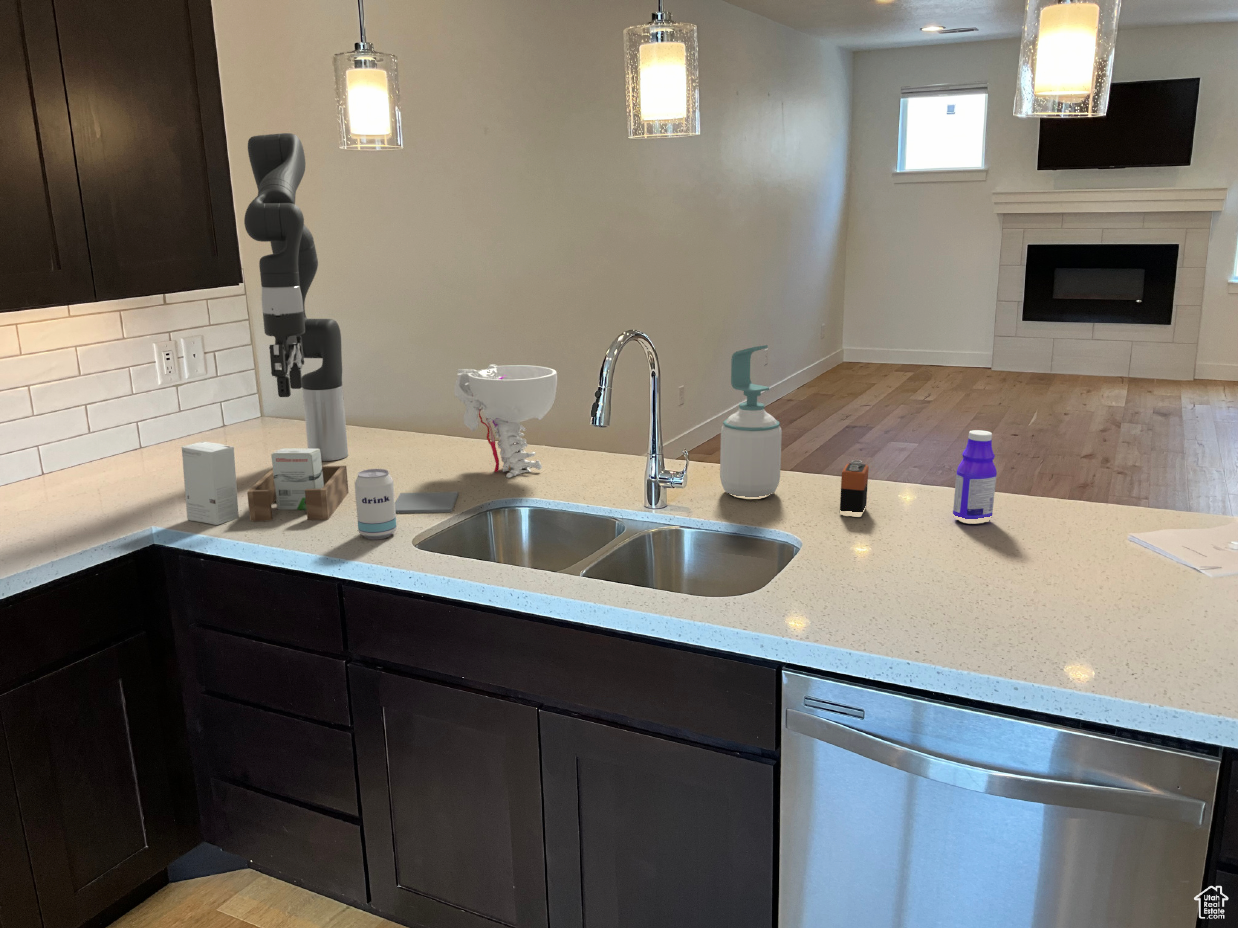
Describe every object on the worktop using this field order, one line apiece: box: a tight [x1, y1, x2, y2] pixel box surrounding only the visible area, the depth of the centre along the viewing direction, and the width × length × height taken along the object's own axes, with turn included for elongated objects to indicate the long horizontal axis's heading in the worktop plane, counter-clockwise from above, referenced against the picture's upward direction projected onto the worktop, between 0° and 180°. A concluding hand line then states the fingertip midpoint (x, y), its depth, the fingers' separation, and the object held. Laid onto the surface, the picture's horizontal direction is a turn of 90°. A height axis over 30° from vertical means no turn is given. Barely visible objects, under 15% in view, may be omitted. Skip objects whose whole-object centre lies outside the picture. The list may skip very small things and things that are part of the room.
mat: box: [395, 491, 459, 514], centre depth 204 cm, size 12×12×1 cm
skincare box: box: [181, 441, 239, 526], centre depth 194 cm, size 8×6×15 cm
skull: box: [453, 364, 558, 478], centre depth 225 cm, size 25×19×23 cm
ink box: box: [270, 447, 324, 511], centre depth 201 cm, size 9×5×12 cm, turn 84°
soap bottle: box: [719, 344, 783, 497], centre depth 204 cm, size 12×12×31 cm
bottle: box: [952, 429, 998, 519], centre depth 187 cm, size 7×6×17 cm
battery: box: [839, 459, 869, 512], centre depth 194 cm, size 4×7×10 cm, turn 159°
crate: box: [246, 465, 349, 522], centre depth 202 cm, size 18×15×6 cm
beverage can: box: [354, 468, 398, 540], centre depth 184 cm, size 7×7×12 cm
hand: (290, 392), depth 197 cm, fingers open, 8 cm apart
